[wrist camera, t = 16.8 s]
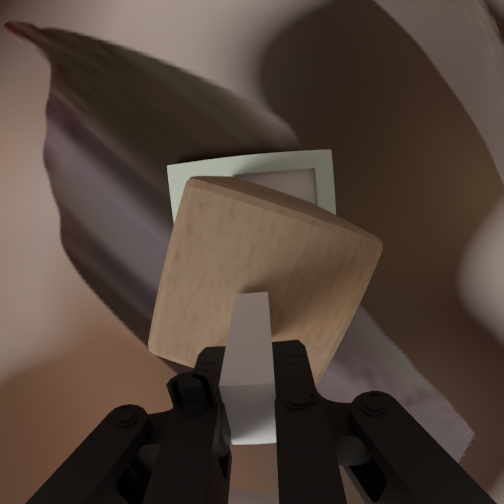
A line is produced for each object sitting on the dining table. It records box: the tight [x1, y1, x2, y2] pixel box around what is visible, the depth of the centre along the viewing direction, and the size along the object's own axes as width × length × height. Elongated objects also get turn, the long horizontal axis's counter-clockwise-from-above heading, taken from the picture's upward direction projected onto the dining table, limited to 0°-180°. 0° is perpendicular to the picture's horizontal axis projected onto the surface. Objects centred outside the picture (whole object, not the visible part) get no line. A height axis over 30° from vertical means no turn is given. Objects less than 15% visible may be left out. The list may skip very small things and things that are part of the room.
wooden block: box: [148, 176, 383, 387], centre depth 24 cm, size 10×10×20 cm
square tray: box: [167, 150, 336, 223], centre depth 33 cm, size 18×18×2 cm
